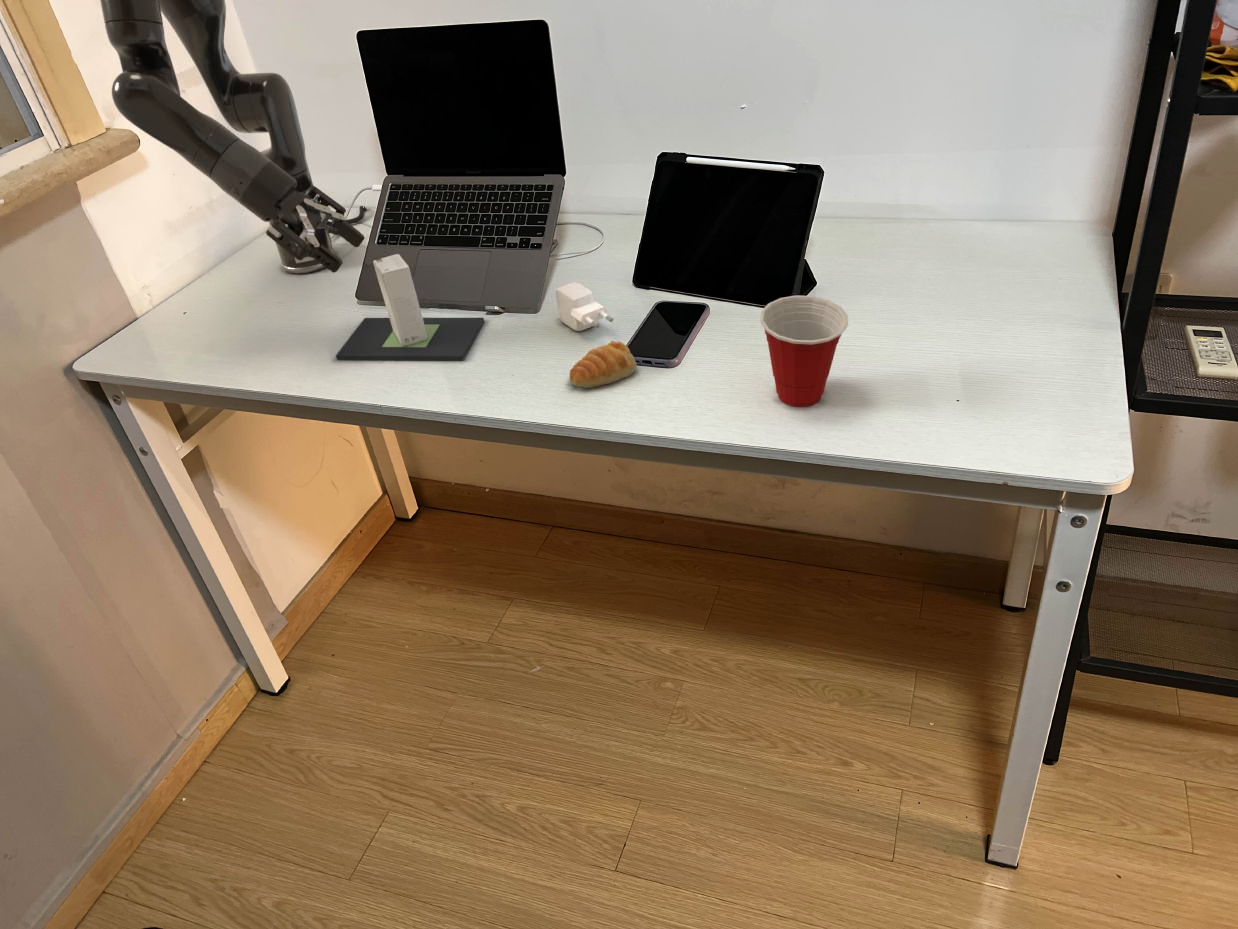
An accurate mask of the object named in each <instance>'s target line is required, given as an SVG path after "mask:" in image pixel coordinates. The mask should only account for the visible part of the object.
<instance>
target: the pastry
mask: <svg viewBox="0 0 1238 929" xmlns="http://www.w3.org/2000/svg"><path fill="white" fill-rule="evenodd" d="M637 365H638V364H637V361H636V360H635V357H634V355H633V354H632V353H631V350H630V348H629V347H628V346H627V345H626V344H625V343H623V342H622V341H618V340H617V341H615V340H611V341H610V342H609V343H607V344H604V345H602V346H598V347H596V348H592V349H591V350H589V351H588V352H587V353H586V355H584V356H583V357H582V358H581V359H579V360H578V361H577V362H576V363H575V364H574V365H573V367H572V368H571V369H570V371H569V383H570V384H573V385H574V386H576V387H580V388H584V389H591V388H593V389H594V388H597V387H599V386H606V385H609V384H612V383H616V382H617V381H620V380H621V379H623V378H628V377H630V376H631V375H632V374H633V373H634V372H635V371H636V369H637V367H638V366H637Z"/></svg>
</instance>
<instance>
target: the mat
mask: <svg viewBox="0 0 1238 929" xmlns="http://www.w3.org/2000/svg"><path fill="white" fill-rule="evenodd" d="M422 318H423V321H424V325H425V329H426V332H427V337H428V338H427V340H425V341H422V342H418V343H415V344H411V345H407V346H402V344H401V343H400V341H399V339H398V338H397V336H396V335H395V333H394V331H393V328H392V325H391V322H390V318H389V317H364V319H363V320H362V321H361V322H360V324H359V325H358V326H357V327H356V329H355V330H354V331H353V333H352V334H351V335H350V336H349V338H348V339H347V340H346V342H345V343H343V346H341V348H340V349H339V350H338V352H337V353H336V354H335V357H336V360H337V361H437V362H438V361H439V362H441V361H442V362H443V361H444V362H445V361H446V362H447V361H450V362H453V361H454V362H455V361H456V362H457V361H459V362H461V361H462V362H463V361H464V360H465V359H466V356H467V355H468V352H469V351H470V349H471V347H472V346H473V343H474V342H475V340H476V339H477V336H478V334H479V333H480V331H481V329H482V328H483V325H484V323H485V318H484V317H422Z"/></svg>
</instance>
